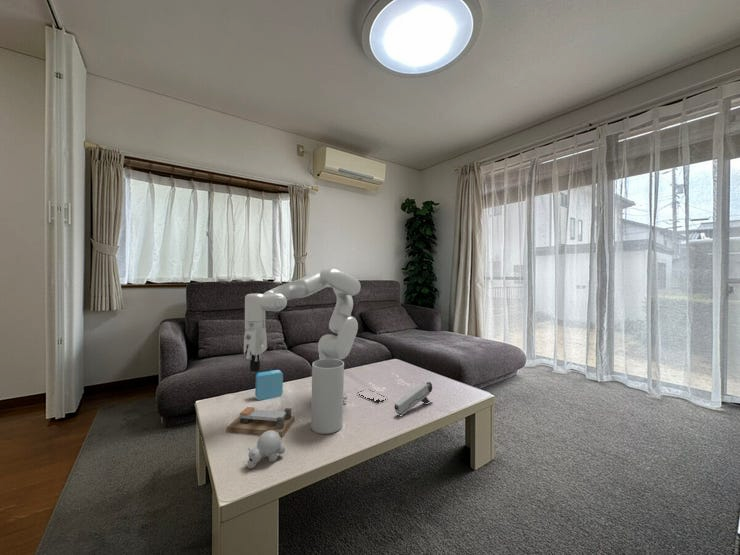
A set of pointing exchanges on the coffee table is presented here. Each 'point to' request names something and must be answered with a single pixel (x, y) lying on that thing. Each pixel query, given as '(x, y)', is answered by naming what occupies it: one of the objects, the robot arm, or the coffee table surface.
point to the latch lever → (261, 414)
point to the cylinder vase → (327, 395)
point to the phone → (373, 398)
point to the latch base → (262, 425)
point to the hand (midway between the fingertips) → (255, 370)
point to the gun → (413, 398)
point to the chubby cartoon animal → (265, 448)
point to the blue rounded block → (269, 384)
